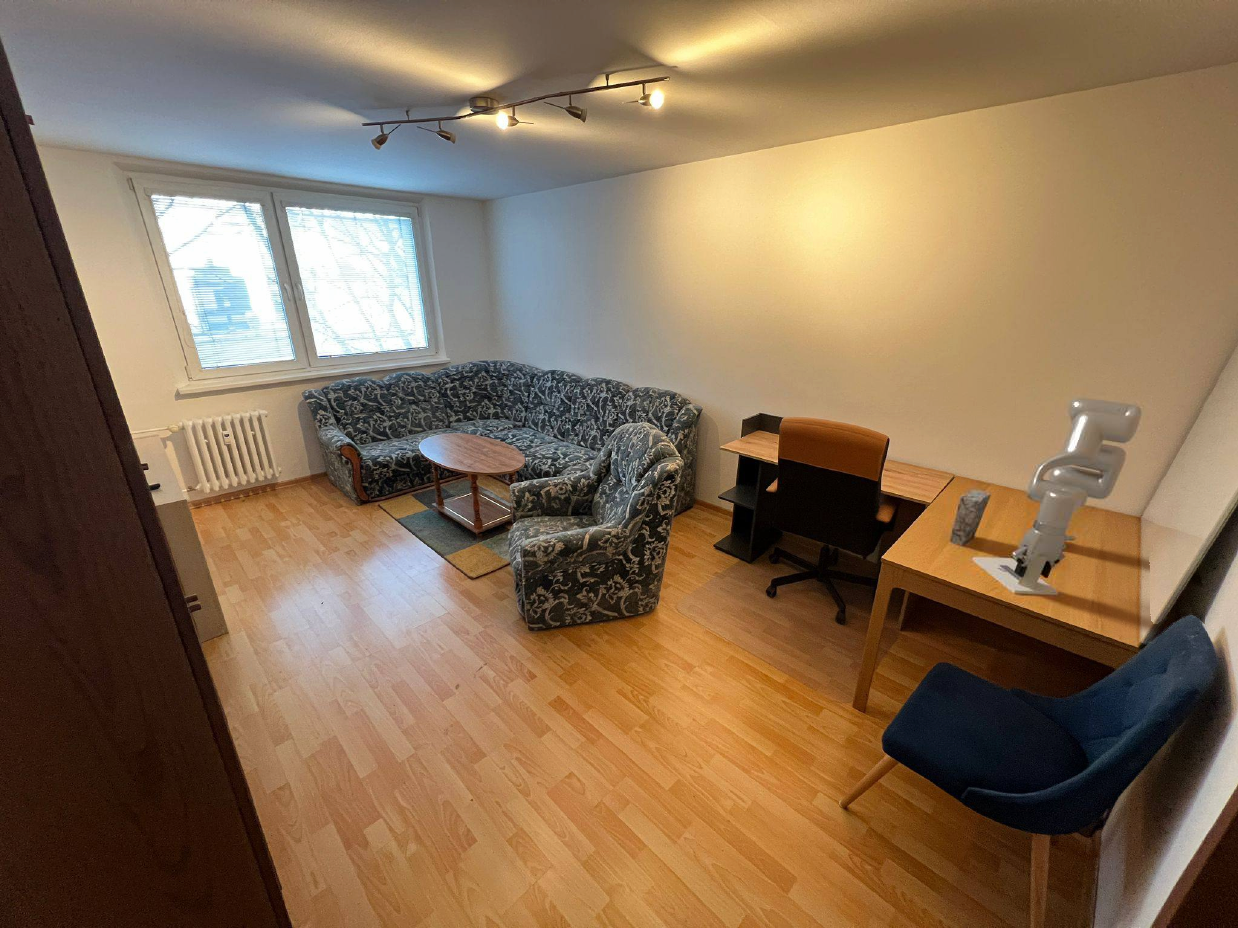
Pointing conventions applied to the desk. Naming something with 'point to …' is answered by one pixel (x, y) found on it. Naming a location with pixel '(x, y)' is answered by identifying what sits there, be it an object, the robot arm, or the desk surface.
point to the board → (1011, 576)
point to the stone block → (969, 516)
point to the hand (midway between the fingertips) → (1030, 574)
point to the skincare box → (1033, 572)
